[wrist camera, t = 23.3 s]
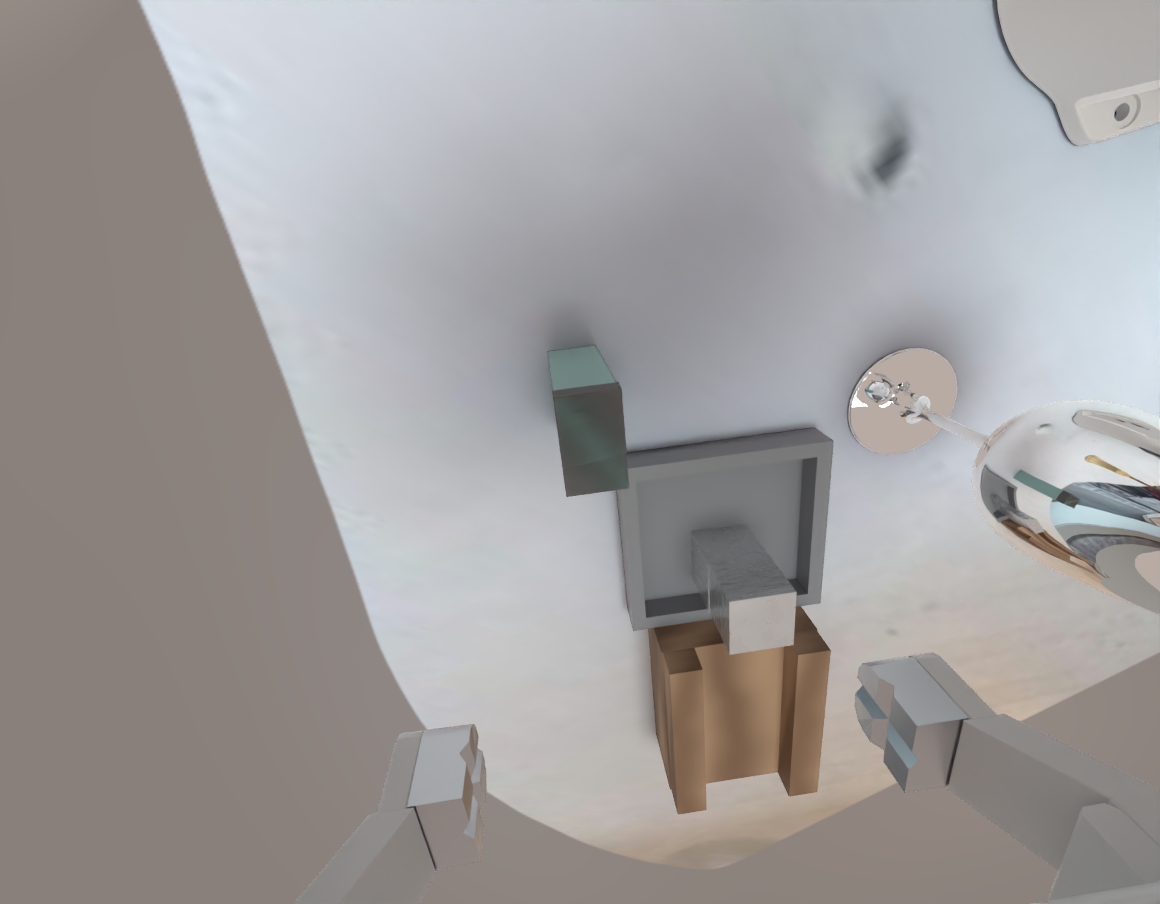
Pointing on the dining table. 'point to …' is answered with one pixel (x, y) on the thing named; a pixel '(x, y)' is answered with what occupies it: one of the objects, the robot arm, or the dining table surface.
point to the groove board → (737, 709)
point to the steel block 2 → (751, 604)
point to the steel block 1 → (719, 551)
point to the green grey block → (588, 421)
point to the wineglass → (1037, 472)
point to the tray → (722, 516)
